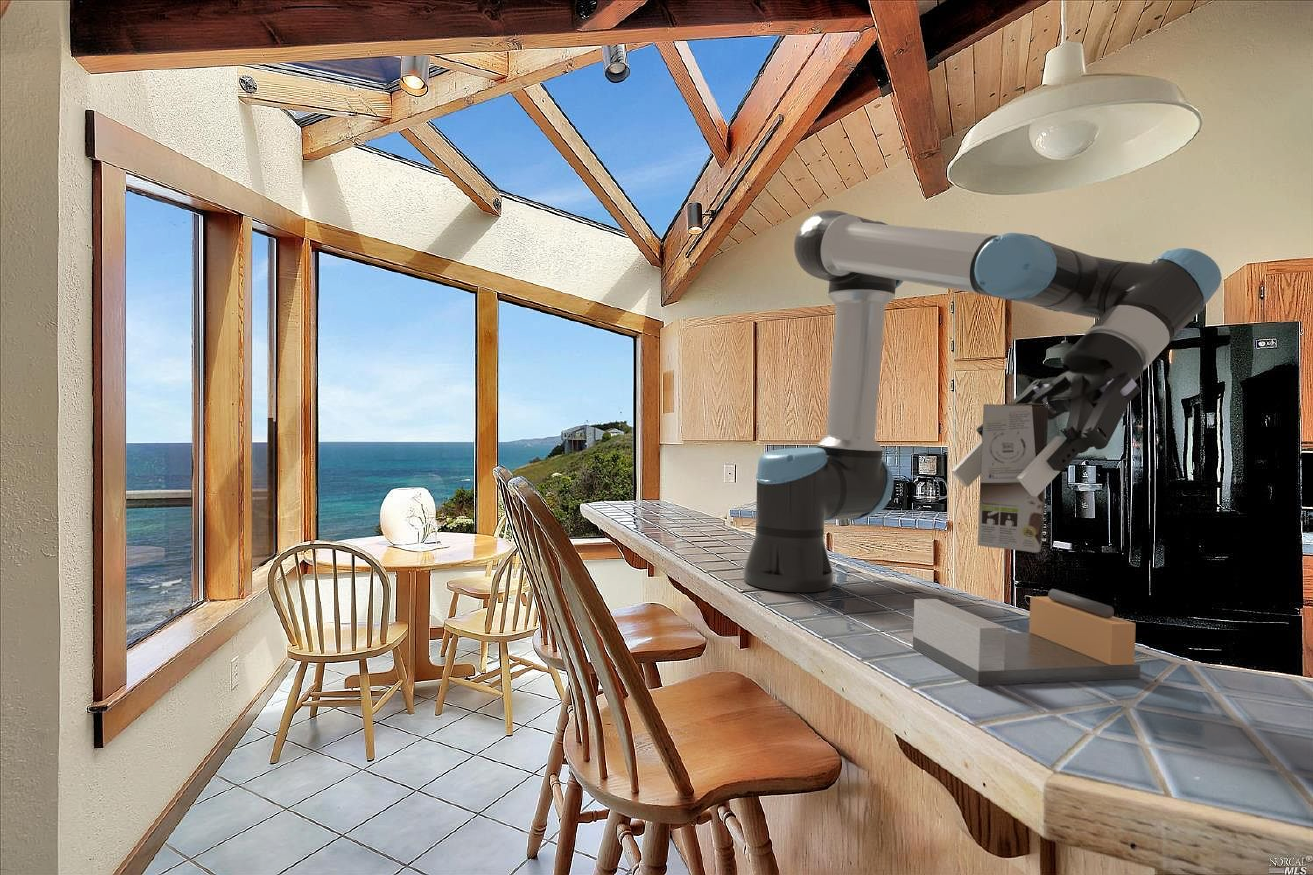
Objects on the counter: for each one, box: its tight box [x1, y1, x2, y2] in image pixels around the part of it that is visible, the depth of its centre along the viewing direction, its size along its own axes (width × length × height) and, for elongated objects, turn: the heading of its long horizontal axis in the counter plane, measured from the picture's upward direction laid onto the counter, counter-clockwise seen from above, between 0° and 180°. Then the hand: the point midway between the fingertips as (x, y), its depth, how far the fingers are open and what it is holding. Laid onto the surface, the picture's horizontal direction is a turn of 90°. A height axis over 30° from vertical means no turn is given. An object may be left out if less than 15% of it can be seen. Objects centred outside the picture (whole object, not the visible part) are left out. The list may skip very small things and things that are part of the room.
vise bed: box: [912, 598, 1141, 687], centre depth 77 cm, size 12×20×6 cm, turn 101°
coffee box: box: [977, 403, 1049, 553], centre depth 76 cm, size 9×6×16 cm
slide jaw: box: [1028, 588, 1136, 665], centre depth 78 cm, size 12×3×6 cm, turn 11°
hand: (990, 482), depth 76 cm, fingers closed on coffee box, 10 cm apart
